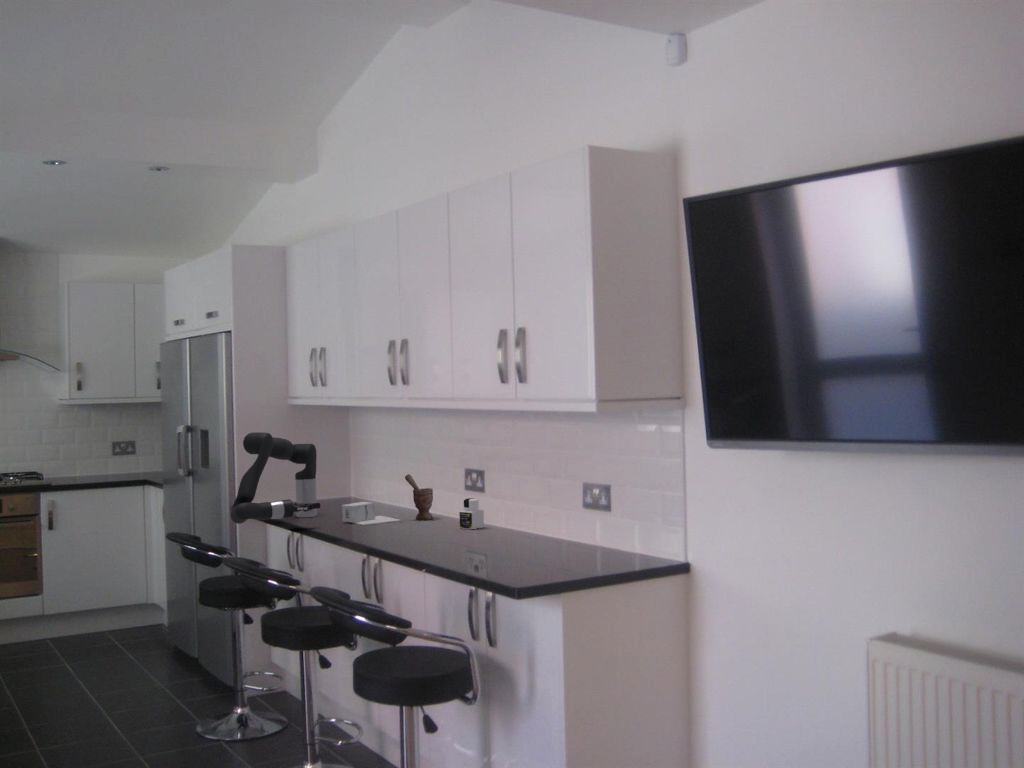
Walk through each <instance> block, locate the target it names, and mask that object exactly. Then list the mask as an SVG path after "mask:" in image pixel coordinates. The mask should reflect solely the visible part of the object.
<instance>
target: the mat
mask: <svg viewBox="0 0 1024 768" xmlns="http://www.w3.org/2000/svg"><path fill="white" fill-rule="evenodd" d="M398 522H399V523H400V522H402V520H401V519H398V518H393V517H389V516H385V515H375V519H371V520H365V521H360V522H354V523H353V522H348V523H351V524H354V525H359V526H362V527H363V526H373V525H381V524H389V523H398Z"/></svg>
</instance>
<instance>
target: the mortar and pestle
mask: <svg viewBox="0 0 1024 768" xmlns="http://www.w3.org/2000/svg"><path fill="white" fill-rule="evenodd" d="M404 479H405V480H406V482H407V483H408V484H409V485H410V486H411V487H412V489H413V490H412V493H413V494H412V495H413V503H414V507H415V508H416V509H417V510H418V513H417V514H416V517H415V519H416V520H417V521H425V520H434V517H433V514H432V513H430V509H431V508H432V505H433V500H434V494H433V493H434V489H433V488H431V487H428V488H427V487H426V488H420V487H419V486H418V484H417V482H416V481H415V479H414V478H413V476H412V475H411V474H409V473H408V474H406V475H405V477H404Z"/></svg>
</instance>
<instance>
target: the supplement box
mask: <svg viewBox="0 0 1024 768" xmlns="http://www.w3.org/2000/svg"><path fill="white" fill-rule="evenodd" d="M341 514H342V515H341V516H342V522H346V523H349V522H353V523H354V522H360V521H365V520H371V519H375V516H376V505H375V502H369V501H360V502H353V503H347V504H346V503H345V504H342V505H341ZM353 523H352V524H353Z"/></svg>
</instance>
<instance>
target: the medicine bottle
mask: <svg viewBox="0 0 1024 768" xmlns="http://www.w3.org/2000/svg"><path fill="white" fill-rule="evenodd" d="M479 505H480V504H479V499H478V498H475V497H474V498H473V497H469V498H465V499H464V500H463V510H460V511H459V512H458V513H459V529H460V528H462V529H461V530H469V529H474V530H477V528H479V529H483V527H484V528H485V515H484V510H483V509H480V508H479V507H480V506H479Z"/></svg>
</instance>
